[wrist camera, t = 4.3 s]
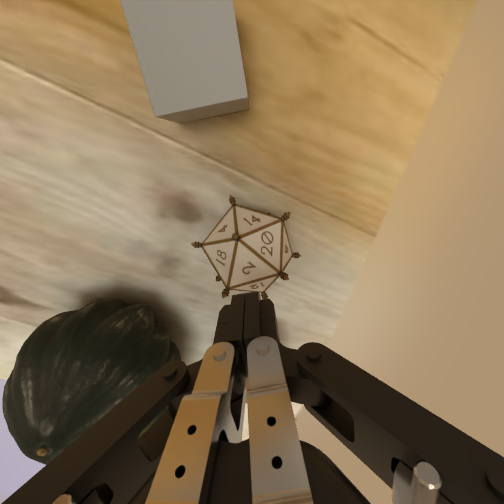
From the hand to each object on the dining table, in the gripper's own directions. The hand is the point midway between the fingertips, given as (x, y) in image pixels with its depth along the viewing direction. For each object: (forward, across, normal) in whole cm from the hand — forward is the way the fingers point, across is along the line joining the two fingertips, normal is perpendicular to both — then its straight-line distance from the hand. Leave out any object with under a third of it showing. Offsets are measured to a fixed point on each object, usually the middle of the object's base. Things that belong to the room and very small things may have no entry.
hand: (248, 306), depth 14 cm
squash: (+12, +17, +10) cm, 23 cm away
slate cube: (+12, +1, -14) cm, 19 cm away
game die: (+12, 0, 0) cm, 12 cm away
